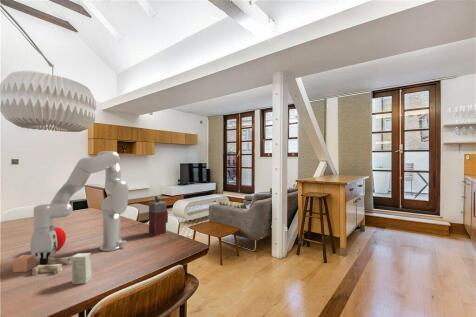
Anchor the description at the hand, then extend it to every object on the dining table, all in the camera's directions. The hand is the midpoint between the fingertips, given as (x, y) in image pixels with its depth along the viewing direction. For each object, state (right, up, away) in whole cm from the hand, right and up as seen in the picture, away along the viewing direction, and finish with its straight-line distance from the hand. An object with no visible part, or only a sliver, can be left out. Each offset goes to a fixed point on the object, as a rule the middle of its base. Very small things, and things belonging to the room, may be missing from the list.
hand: (43, 265), depth 118 cm
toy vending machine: (+40, -1, +54) cm, 67 cm away
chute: (+5, -1, +1) cm, 5 cm away
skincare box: (+27, -2, -12) cm, 30 cm away
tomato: (-13, -1, +22) cm, 26 cm away
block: (-9, -1, -1) cm, 9 cm away
